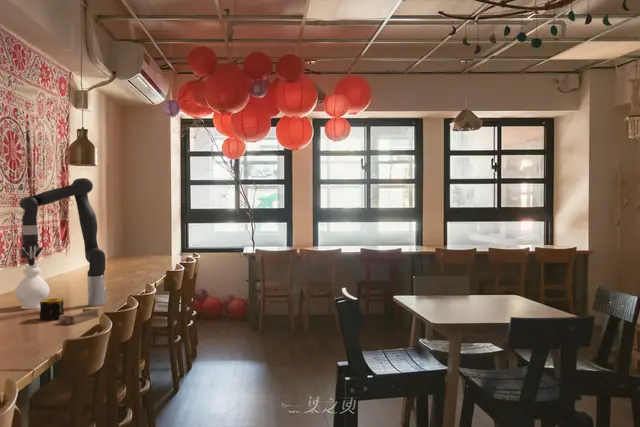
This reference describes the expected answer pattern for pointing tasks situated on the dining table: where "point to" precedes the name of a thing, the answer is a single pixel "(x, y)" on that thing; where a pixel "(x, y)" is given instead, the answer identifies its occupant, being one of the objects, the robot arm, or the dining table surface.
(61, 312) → the candle
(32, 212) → the robot arm
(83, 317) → the dock
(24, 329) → the dining table surface
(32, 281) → the decorative vase
